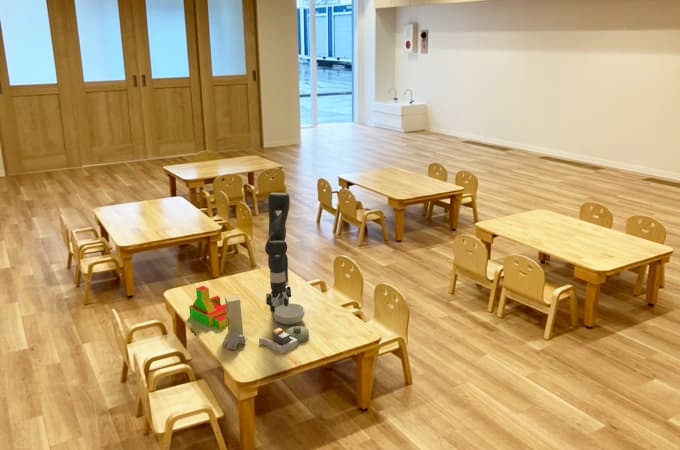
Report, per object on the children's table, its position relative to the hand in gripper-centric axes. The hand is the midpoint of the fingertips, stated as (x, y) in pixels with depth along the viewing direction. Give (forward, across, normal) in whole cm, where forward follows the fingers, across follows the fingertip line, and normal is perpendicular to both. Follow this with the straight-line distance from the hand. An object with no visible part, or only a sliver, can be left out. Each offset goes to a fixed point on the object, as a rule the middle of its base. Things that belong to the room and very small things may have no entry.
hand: (279, 308), depth 303 cm
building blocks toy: (+21, +4, -50) cm, 54 cm away
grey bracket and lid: (+20, -5, -1) cm, 21 cm away
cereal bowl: (+20, -20, -16) cm, 32 cm away
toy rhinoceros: (+20, +17, -15) cm, 31 cm away
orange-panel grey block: (+20, 0, 0) cm, 20 cm away
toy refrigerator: (+20, +9, -27) cm, 35 cm away
